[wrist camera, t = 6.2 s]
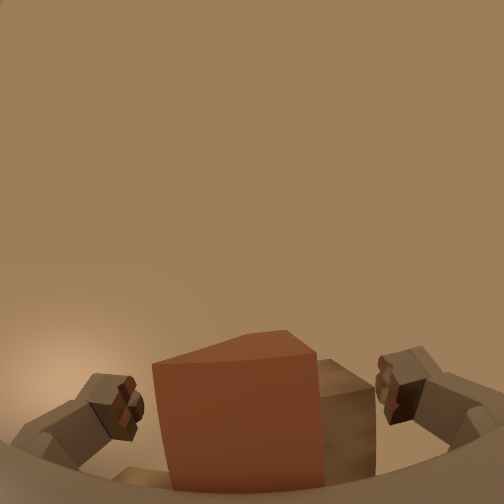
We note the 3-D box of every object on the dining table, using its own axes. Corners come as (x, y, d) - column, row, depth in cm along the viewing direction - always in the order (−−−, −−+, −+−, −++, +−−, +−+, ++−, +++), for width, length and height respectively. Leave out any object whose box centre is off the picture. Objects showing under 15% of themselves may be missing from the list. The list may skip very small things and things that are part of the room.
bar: (174, 496, 4) (151, 363, 5) (250, 371, 22) (247, 333, 23) (324, 492, 4) (316, 352, 5) (290, 367, 22) (286, 329, 22)
